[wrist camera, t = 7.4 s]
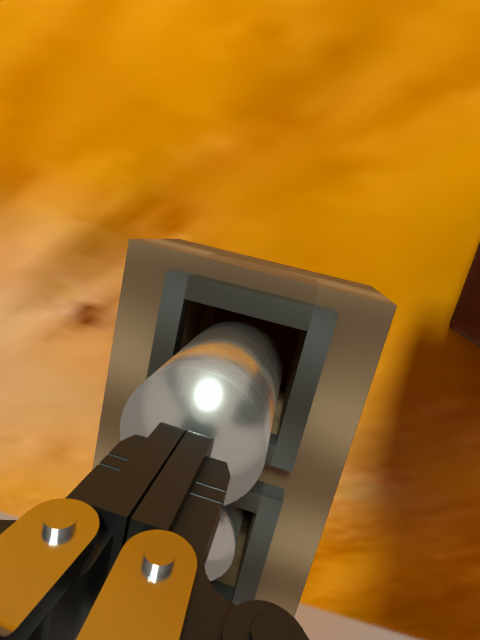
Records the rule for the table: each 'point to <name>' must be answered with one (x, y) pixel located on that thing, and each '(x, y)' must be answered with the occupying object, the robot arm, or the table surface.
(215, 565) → the peg
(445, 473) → the table surface
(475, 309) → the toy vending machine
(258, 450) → the peg
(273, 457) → the brown wooden block
